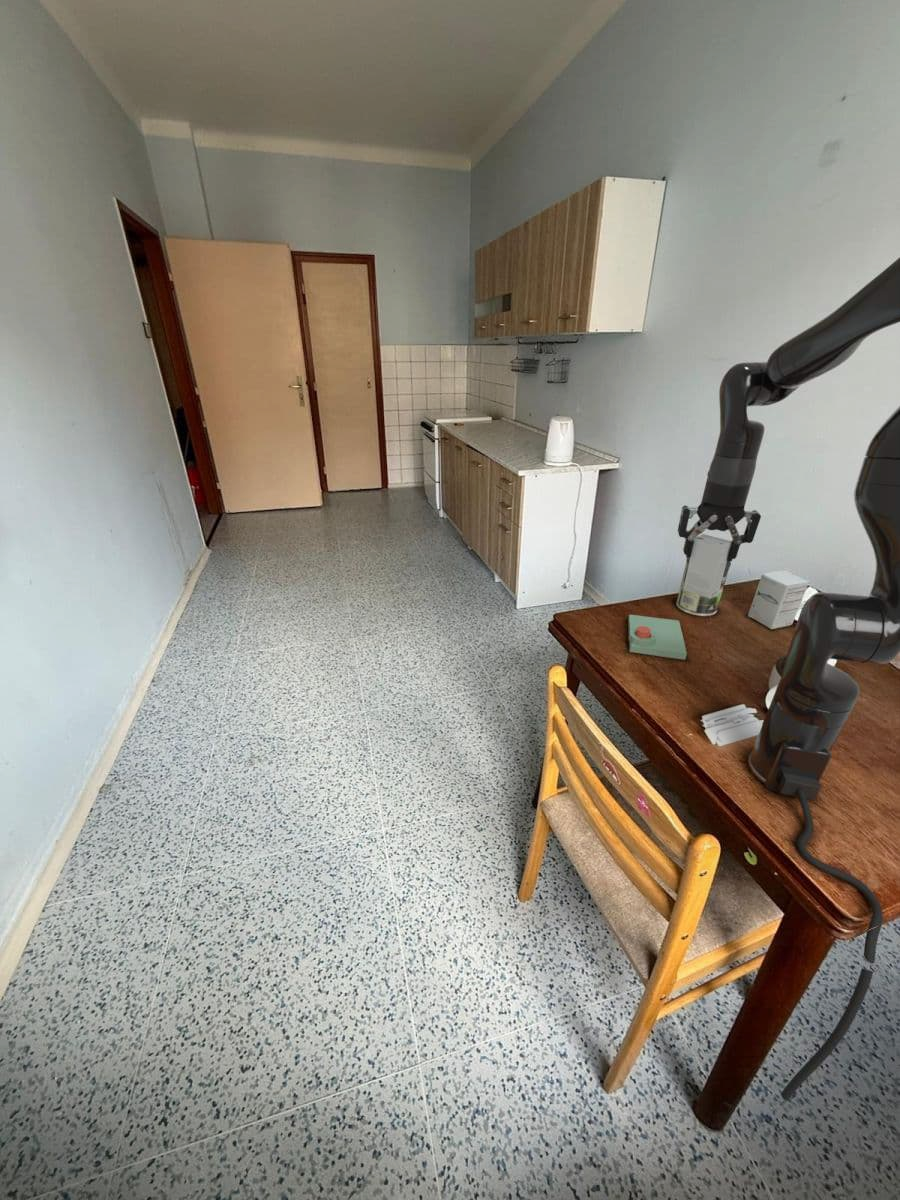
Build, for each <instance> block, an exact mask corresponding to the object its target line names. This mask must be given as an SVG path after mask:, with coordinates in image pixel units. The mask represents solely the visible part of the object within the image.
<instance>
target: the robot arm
mask: <svg viewBox="0 0 900 1200" xmlns="http://www.w3.org/2000/svg"><path fill="white" fill-rule="evenodd" d="M899 323H900V256H899V257H898V258H897V259H896V260H895V261H893V262H892V263H891V264H890V265H889V266H887V267H886V268H885V269H884V270H882V271H881V272H880V273H879V274H878V275H876V276H875V277H874V278H873V279H872V280H870V281H869V282H868V283H867V284H865V285H864V286H863V287H862V288H860V290H858V291H857V292H856V293H854V294H853V295H852V296H851V297H850V298H849V299H847V300H846V301H845V302H844V303H843V304H841V305H840V306H839V307H837V308H836V309H835V310H834V311H832V312H831V313H830V314H828V315H827V316H826V317H824V318H822V319H821V320H820V321H817V322H816V323H815V324H813V325H812V326H809V327H808V328H806V329H804V330H803V331H801V332H800V333H798V334H796V335H795V336H793V337H791V338H790V339H788V340H787V341H785V342H783V343H782V344H781V345H780V346H778V347H776V348H775V349H774V351H773V352H771V354H770V355H769V357H768V358H767V361H758V362H757V361H756V362H754V361H753V362H740V363H736V364H734V365H733V366H731V367H730V368H729V369H728V370H727V371H726V373H725V374H724V375H723V378H722V379H721V382H720V385H719V390H718V404H719V434H718V438H717V443H716V447H715V451H714V454H713V458H712V459H711V462H710V465H709V469H708V471H707V473H706V474H707V476H706V481H705V485H704V489H703V494H702V497H701V501H700V504H699V505H698V506H697V507H689V506H688V505H683V506H681V512H680V516H679V522H678V527H677V533H678V536H679V537H680V538H682V539H684V545H683V547H682V548H683V555H685V557H686V558H687V557H691V553H692V549H693V545H694V539H695V538H697V537H698V536H700V535H702V534H703V533H704V532H705V531H706V530H708V531H720V532H727V531H729V534H730V536H731V538H732V540H730V541H731V542H732V543H731V547H730V550H729V555H728V558H727V561H730V562H733V560H735V559H736V558H737V556H738V553H739V550H740V546H741V545H742V544H746V543H747V544H751V543H752V542H753V541H754V538H755V535H756V532H757V530H758V526H759V524H760V521H761V518H762V515H761V514H760V512H759V511H758V510H756V509H753V510H752V511H750V510H749V511H748V510H745V506H746V502H747V499H748V496H749V492H750V489H751V486H752V482H753V479H754V476H755V472H756V468H757V461H758V456H759V452H760V449H761V446H762V442H763V439H764V436H765V435H764V434H765V429H766V428H765V425H764V424H763V423H762V422H760V421H757V420H753V419H749V417H748V407H766V406H771V405H774V404H778V403H780V402H781V401H784V400H785V399H786V398H788V397H789V396H790V395H791V394H792V393H794V392H795V391H796V390H798V389H799V388H800V387H801V386H802V385H804V384H806V383H807V382H810V381H812V380H814V379H817V378H818V377H821V376H823V375H825V374H827V373H829V372H831V371H833V370H834V369H836V368H838V367H840V366H841V365H842V364H843V363H845V362H847V360H849V358H851V357H852V356H853V355H854V354H855V352H857V349H858V348H859V347H860V345H862V343H863V342H864V340H865V339H867V338H868V337H869V336H871V335H874V333H876V332H879V331H880V330H881V331H882V330H883V329H884V328H887V327H891V326H893V325H896V324H899ZM853 502H854V506H855V509H856V512H857V515H858V517H859V520H860V522H861V524H862V527H863V529H864V531H865V534H866V535H867V538H868V540H869V543H870V544H871V545H870V546H871V547H872V550H873V555H874V559H875V572H874V579H873V583H872V587H871V591H870V592H869V595H858V594H850V593H839V592H829V591H828V592H826V591H822V592H821V591H820V592H816V593H814V594H812V595H811V596H810V597H808V598H807V600H806V601H805V603H804V604H803V606H802V608H801V610H800V613H799V615H798V619H797V621H796V625H795V628H794V632H793V635H792V638H791V642H790V645H789V647H788V650H787V653H786V655H787V656H786V655H785V656H786V660H785V665H784V670H783V674H782V677H781V679H780V682H779V684H778V687H777V689H776V692H775V694H774V696H773V699H772V702H771V704H770V707H769V709H768V708H767V712H766V715H765V717H764V720H763V722H762V724H761V727H760V729H759V731H758V735H757V737H756V739H755V741H754V746H753V748H752V751H750V753H749V756H748V759H747V765H748V769H749V770H750V772H751V773H752V775H753V776H754V777H755V778H756V779H757V780H758V781H759V782H760V783H763V785H764V787H765V789H766V790H767V791H771V792H775V793H779V794H782V795H785V796H789V797H790V796H791V797H796V798H798V801H799V803H800V807H801V811H802V815H803V820H804V830H803V831H802V833H801V834H800V836H798V838H797V840H796V848H797V851H798V852H799V853H800V855H801V856H802V857H803V859H805V860H806V861H807V862H808V863H809V864H811V865H812V866H813V867H815V868H816V869H818V870H820V871H823V872H824V873H827V874H829V875H831V876H833V877H836V878H839V879H841V880H843V881H845V882H847V883H849V884H851V885H852V886H854V887H855V888H857V889H858V890H859V891H860V892H861V893H862V894H863V895H864V897H865V898H866V900H867V901H868V903H869V905H870V908H871V912H872V913H871V918H870V922H869V924H868V927H867V930H866V935H865V941H864V948H863V957H864V960H866V962H868V963H869V964H872V965H874V963H875V961H876V951H877V943H878V939H879V936H880V932H881V929H882V925H883V921H884V913H883V909H882V905H881V904H880V901H879V900H878V898H877V897H876V895H875V893H873V891H872V890H871V889H870V888H869V887H868V886H867V885H866V884H865V883H864V882H863V881H861V880H860V879H858V878H857V877H855V876H854V875H851V874H849V873H847V872H845V871H844V870H841V869H838V868H836V867H834V866H831V865H829V864H827V863H824V862H823V861H821V860H818V859H817V858H816V857H814V856H813V855H812V854H811V853H810V852H809V850H808V849H807V847H806V844H807V842H808V841H809V840H810V839H811V838H812V836H813V834H814V820H813V817H812V812H811V808H810V807H811V806H810V804H809V802H808V800H811V801H815V800H816V798H817V796H818V794H819V792H820V790H821V788H822V787H821V785H820V783H819V782H820V781H821V779H822V777H823V775H824V773H825V771H826V769H827V766H828V765H829V764H830V763H829V762H830V761H831V758H832V753H831V752H832V750H833V749H834V746H835V744H836V743H837V740H838V738H839V737H840V734H841V733H842V731H843V729H844V726H845V725H846V723H847V721H848V719H849V718H850V717H849V716H850V715H851V712H852V710H853V709H854V707H855V705H856V703H857V701H858V700H859V697H860V691H861V690H860V686H859V685H858V683H857V681H855V679H854V678H853V677H852V676H851V675H849V674H848V673H847V672H845V671H844V670H842V669H840V668H838V667H836V666H832V665H830V664H828V663H827V662H828V660H829V659H836V660H837V661H844V662H852V663H859V664H860V663H861V664H867V665H868V664H869V665H886V664H888V663H890V662H892V661H894V660H895V659H896V658H897V657H898V656H899V655H900V405H899V406H898V407H897V408H896V409H895V410H894V411H893V413H891V414H890V416H888V418H887V419H886V420H885V421H884V423H883V424H882V425H881V426H880V427H879V429H878V430H877V431H876V432H875V434H874V435H873V437H872V438H871V439H870V441H869V444H868V446H867V448H866V451H865V453H864V458H863V460H862V464H861V466H860V469H859V473H858V476H857V480H856V483H855V487H854V491H853ZM694 515H697V517H698V518H699V519H698V520H697V521H696V522H695V523H694V524H693V526H692V527H691V528H690V529H689V530H687V529H688V523H689V520H690V519H692V518H693V517H694ZM744 518H745V521H746V523H747V524H746V526H745V530H744V532H743V534H740V533H739V531H738V528H737V527H736V524H738V523H739V522H740V521H742V520H743V519H744ZM881 924H882V925H881ZM876 926H878V927H876ZM873 927H876V928H874V929H871V928H873ZM869 929H871V930H869ZM868 930H869V931H868ZM873 974H874V971H873V970H870V969H867V968H861V969H860V973H859V976H858V980H857V983H856V985H855V988H854V990H853V992H852V994H851V997H850V999H849V1001H848V1004H847V1006H846V1008H845V1010H844V1011H843V1013H842V1015H841V1017H840V1019H839V1021H838V1023H837V1024H836V1026H835V1027H834V1029H833V1030H832V1032H831V1034H830V1035H829V1037H828V1038H827V1039H826V1040H825V1042H824V1043H823V1044H822V1045H821V1046H820V1047H819V1049H818V1050H817V1051H816V1052H815V1053H814V1054H813V1056H812V1057H811V1058H810V1059H809V1060H808V1061H807V1062H806V1063H805V1064H804V1065H803V1066H802V1067H801V1068H800V1069H799V1070H798V1072H797V1073H796V1074H795V1075H794V1076H793V1077H792V1079H790V1081H789V1082H788V1083H787V1085H786V1086H785V1087H784V1088H783V1090H782V1091H781V1093H780V1097H781V1098H782V1099H783V1100H784V1101H786V1102H788V1101H789V1100H790V1099H791V1097H792V1096H793V1095H794V1094H795V1093H796V1091H798V1089H799V1088H800V1087H801V1085H803V1084H804V1082H805V1081H806V1080H807V1079H808V1078H809V1077H810V1076H811V1075H812V1074H813V1073H814V1072H815V1071H816V1070H817V1069H818V1068H819V1067H820V1066H821V1065H822V1064H823V1063H824V1062H825V1061H826V1059H827V1058H828V1057H829V1056H830V1055H831V1054H832V1053H833V1051H834V1050H835V1049H836V1047H838V1045H839V1044H840V1043H841V1041H842V1039H843V1038H844V1037H845V1035H846V1034H847V1032H848V1030H849V1029H850V1027H851V1025H852V1024H853V1022H854V1020H855V1018H856V1017H857V1014H858V1012H859V1011H860V1009H861V1007H862V1004H863V1001H864V999H865V998H866V995H867V992H868V990H869V987H870V985H871V981H872V978H873Z"/></svg>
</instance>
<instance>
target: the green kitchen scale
mask: <svg viewBox="0 0 900 1200" xmlns="http://www.w3.org/2000/svg"><path fill="white" fill-rule="evenodd" d="M627 626H628V627H627V630H628V646H629V647H628V648H629V653H636V654H642V655H649V656H656V657H662V658H663V657H664V658H669V659H677V660H684V661H685V660H686V659H687V655H688V651H687V648H686V644H685V640H684V636H683V631H682V626H681V623H680V620H678V619H677V620H676V619H669V618H660V617H653V616H644V615H636V614H628V619H627ZM639 626H645V627H648V628H649V629H650V630H651V632H650V637H649V638H647V639H644V638H639V637H637V636H636V631H637V628H638V627H639Z"/></svg>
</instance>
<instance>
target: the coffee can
mask: <svg viewBox="0 0 900 1200" xmlns="http://www.w3.org/2000/svg"><path fill="white" fill-rule="evenodd" d="M689 560H690V557H686V562H685V565H684V570H683V573H682V578H681V582H680V587H679V590H678V591H679V592H678V596H677V599H676V603H675V604H676V607H677V608H678V609H679V610H680V611H682V612H684V613H686V614H690V615H694V616H698V617H710V616H713V615H715V614H717V612H718V608H719V605H720V601H721V598H722V595H723V591H724V588H725V584H726V580H727V577H728V573H729V570H730V567H731V565H732V561H727V563H726V566H725V570H724V574H723V578H722V582H721V586H720V590H719V593H718V594H717V595H716V596H714V597H712V598H710V599H709V598H706V597H703V596H700V595H697V594H695V593H692V592H689V591H686V590H684V589H683V588H684V583H685V579H686V574H687V569H688V564H689Z"/></svg>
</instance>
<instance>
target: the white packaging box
mask: <svg viewBox="0 0 900 1200" xmlns="http://www.w3.org/2000/svg"><path fill="white" fill-rule="evenodd" d="M809 584H810V581H809V580H807V579H805V578H802V577H800V576H798V575H796V574H794V573H791V572H789V571H787V570H784V569H779V570H772V571H768V572H763V573H761V576H760V579H759V582H758V585H757V588H756V591H755V593H754V596H753V600H752V602H751V605H750V608H749V611H748V614H747V617H749V618H751V619H753V620H755V621H756V622H758V623H759V624H762V625H763V626H765V627H767V628H768V629H770V630H775V629H779V628H780V629H781V628H784V627H789V626H792V625H793V623H794V621H795V618H796V617H797V614H798V611H799V610H800V606H801V604H802V601H803V598H804V596H805V593H806V591H807V588H808V587H809Z"/></svg>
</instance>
